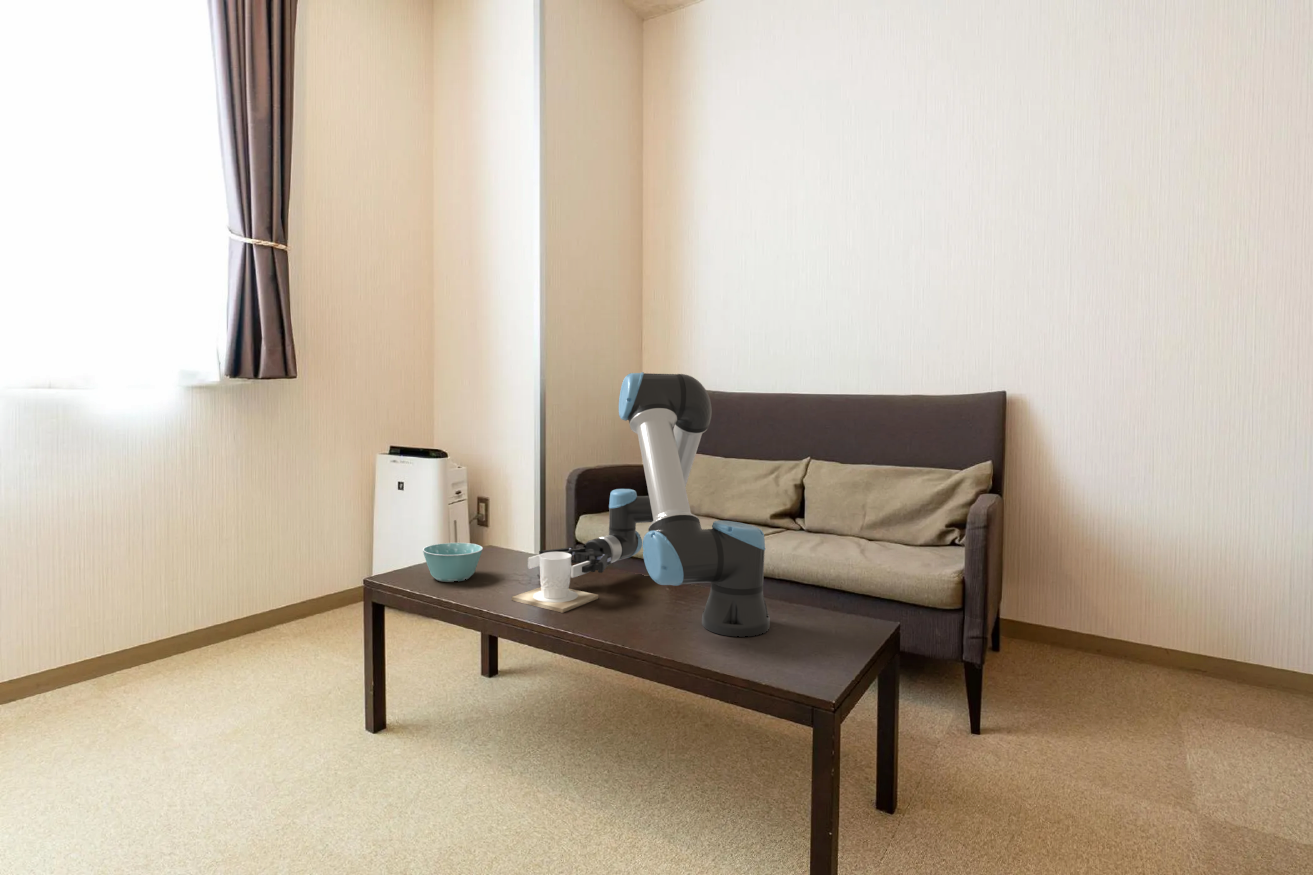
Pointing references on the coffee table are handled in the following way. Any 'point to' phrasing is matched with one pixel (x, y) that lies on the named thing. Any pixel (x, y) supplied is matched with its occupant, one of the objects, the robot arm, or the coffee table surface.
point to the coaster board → (555, 600)
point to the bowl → (452, 560)
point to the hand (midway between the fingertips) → (549, 567)
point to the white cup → (555, 574)
